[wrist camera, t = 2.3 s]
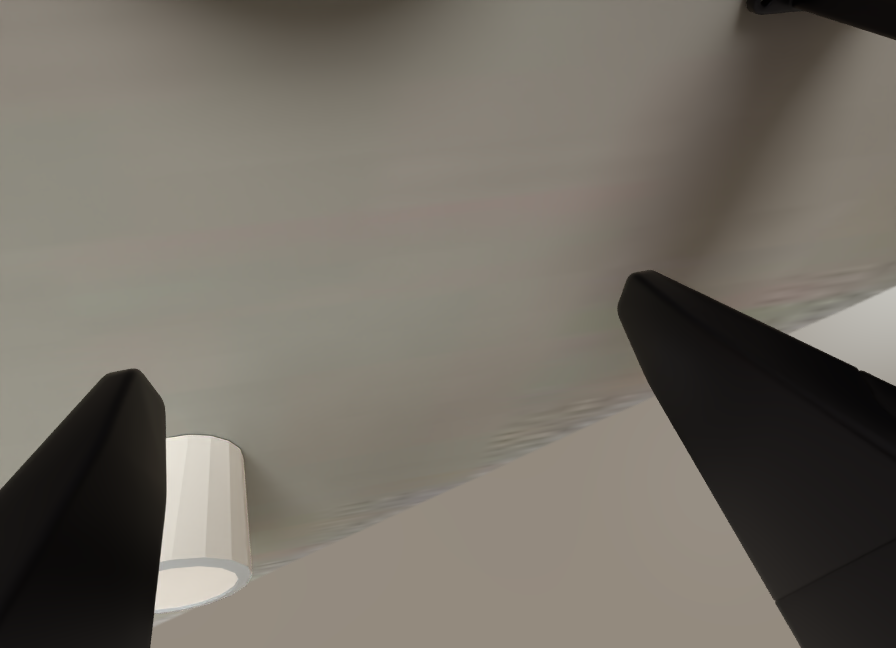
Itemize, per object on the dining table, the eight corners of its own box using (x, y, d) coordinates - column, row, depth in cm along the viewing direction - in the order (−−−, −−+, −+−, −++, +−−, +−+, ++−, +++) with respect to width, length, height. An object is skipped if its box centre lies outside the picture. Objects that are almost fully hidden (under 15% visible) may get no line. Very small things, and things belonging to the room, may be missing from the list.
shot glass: (89, 469, 25) (50, 611, 21) (187, 412, 24) (168, 549, 20) (194, 501, 30) (181, 622, 26) (279, 455, 29) (281, 573, 25)
